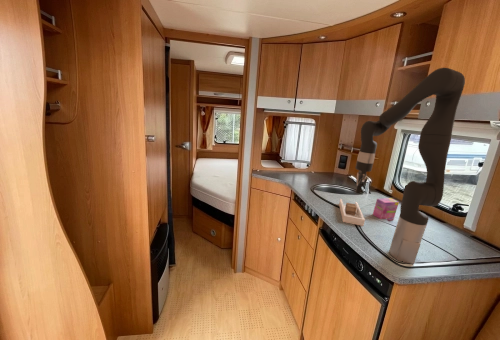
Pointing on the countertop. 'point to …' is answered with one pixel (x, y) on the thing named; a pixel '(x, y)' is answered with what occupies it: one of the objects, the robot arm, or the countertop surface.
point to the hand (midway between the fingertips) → (357, 192)
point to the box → (385, 208)
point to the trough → (353, 219)
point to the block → (350, 208)
